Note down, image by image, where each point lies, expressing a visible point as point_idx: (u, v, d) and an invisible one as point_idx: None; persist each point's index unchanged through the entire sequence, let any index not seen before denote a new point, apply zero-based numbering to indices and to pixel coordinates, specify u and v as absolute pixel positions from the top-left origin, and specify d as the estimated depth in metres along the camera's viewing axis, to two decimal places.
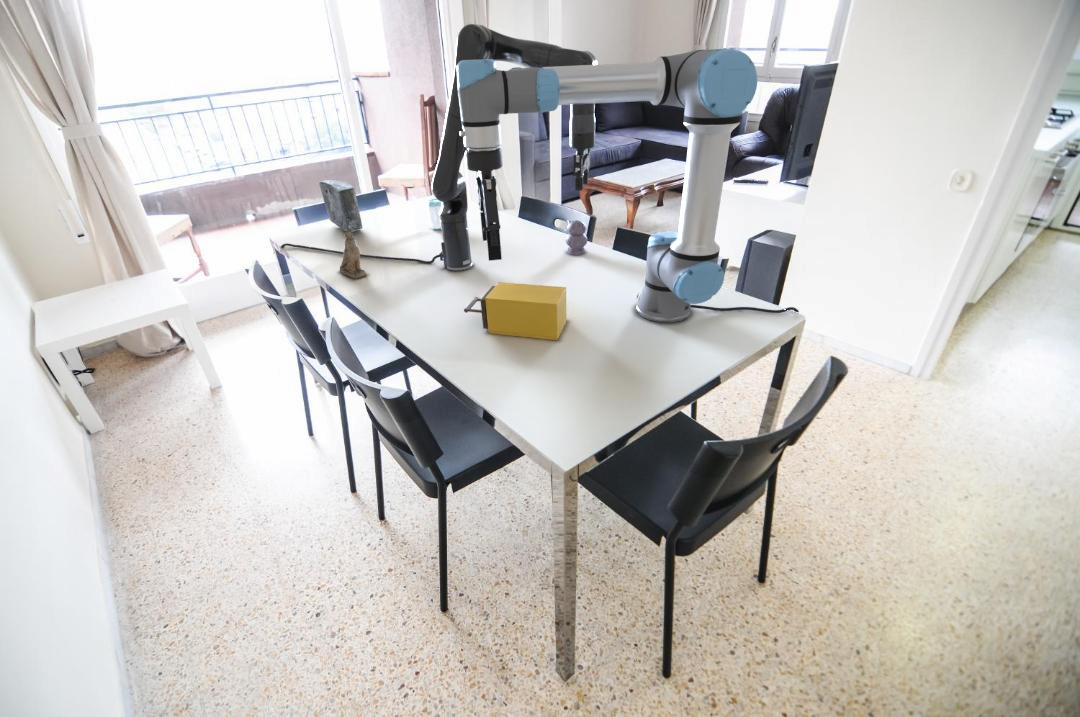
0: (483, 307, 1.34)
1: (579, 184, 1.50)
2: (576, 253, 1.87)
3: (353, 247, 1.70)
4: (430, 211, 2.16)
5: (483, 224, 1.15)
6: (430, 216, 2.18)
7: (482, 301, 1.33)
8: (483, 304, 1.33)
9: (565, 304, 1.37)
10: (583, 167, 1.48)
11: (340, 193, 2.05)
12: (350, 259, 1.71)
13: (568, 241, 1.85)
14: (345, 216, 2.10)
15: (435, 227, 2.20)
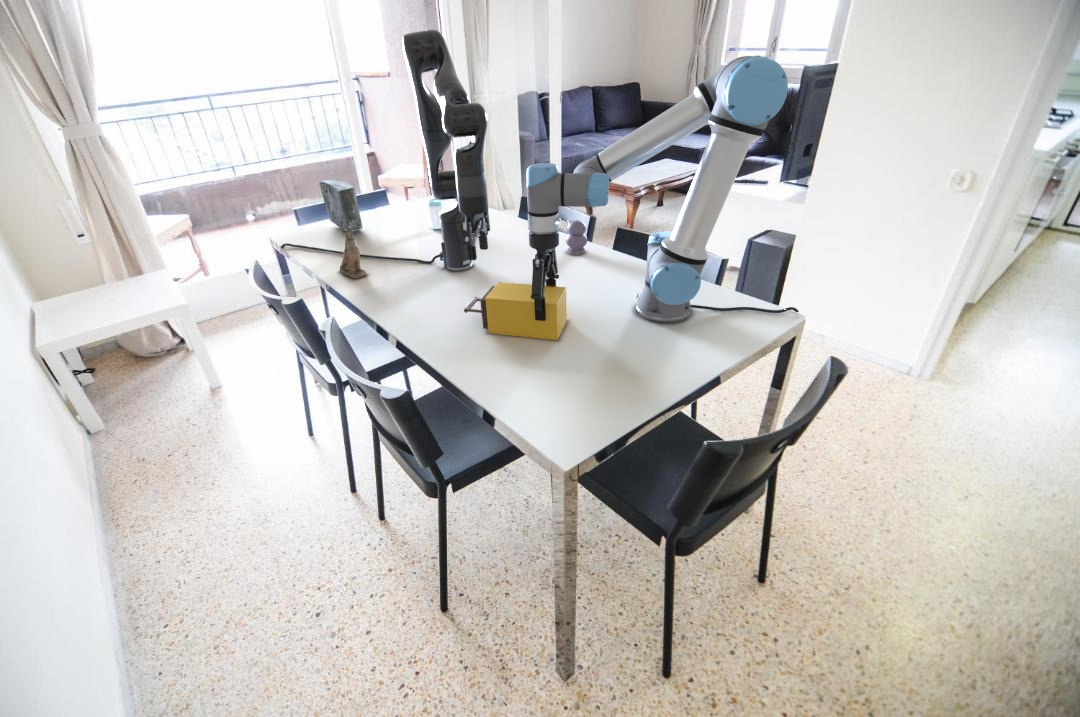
0: (483, 307, 1.34)
1: None
2: (576, 253, 1.87)
3: (353, 247, 1.70)
4: (430, 211, 2.16)
5: None
6: (430, 216, 2.18)
7: (482, 301, 1.33)
8: (483, 304, 1.33)
9: (565, 304, 1.37)
10: None
11: (340, 193, 2.05)
12: (350, 259, 1.71)
13: (568, 241, 1.85)
14: (345, 216, 2.10)
15: (435, 227, 2.20)
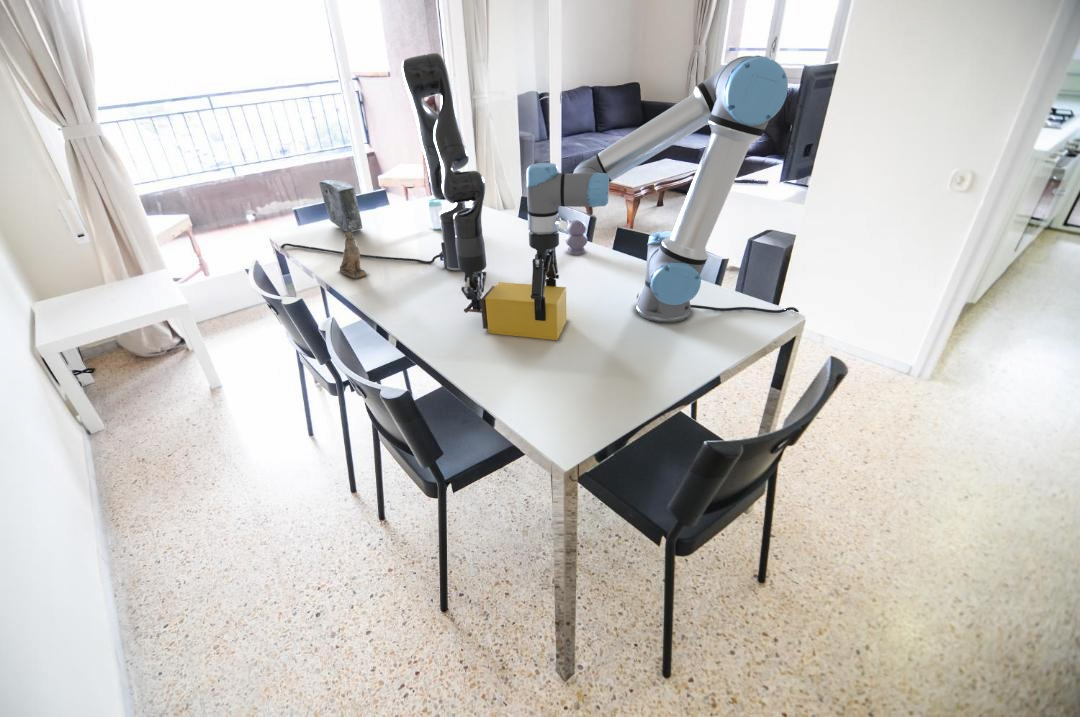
0: (483, 307, 1.34)
1: None
2: (576, 253, 1.87)
3: (353, 247, 1.70)
4: (430, 211, 2.16)
5: None
6: (430, 216, 2.18)
7: (482, 301, 1.33)
8: (483, 304, 1.33)
9: (565, 304, 1.37)
10: None
11: (340, 193, 2.05)
12: (350, 259, 1.71)
13: (568, 241, 1.85)
14: (345, 216, 2.10)
15: (435, 227, 2.20)
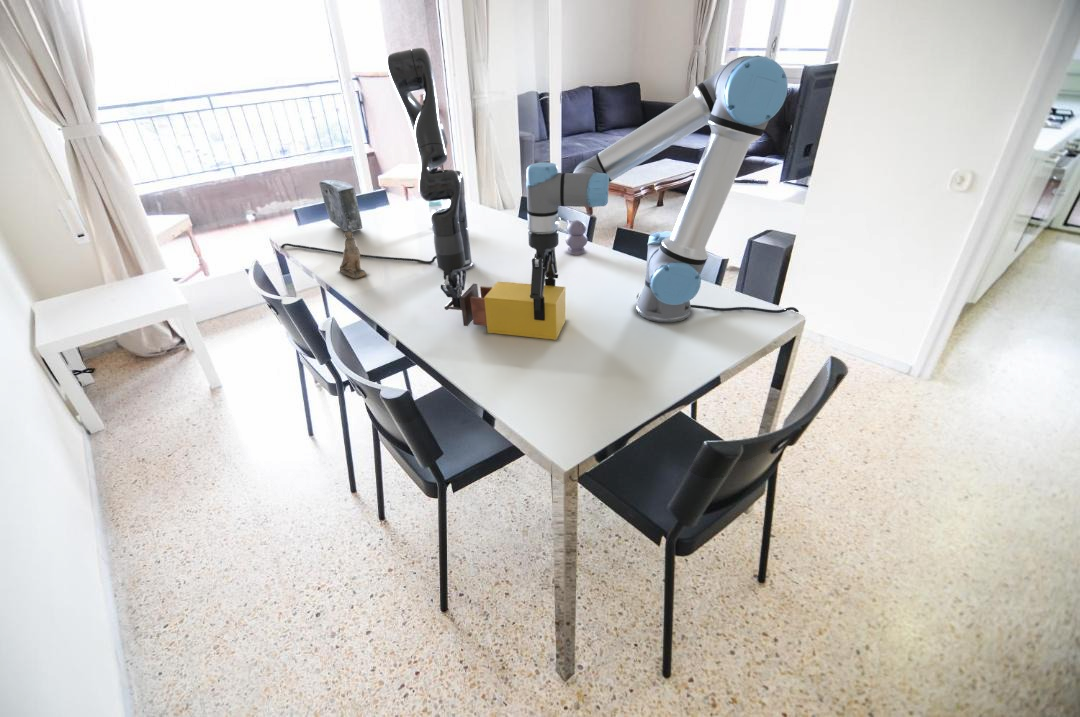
0: (463, 304, 1.35)
1: None
2: (576, 253, 1.87)
3: (353, 247, 1.70)
4: (430, 211, 2.16)
5: None
6: (430, 216, 2.18)
7: (462, 299, 1.34)
8: (463, 302, 1.34)
9: (564, 304, 1.37)
10: None
11: (340, 193, 2.05)
12: (350, 259, 1.71)
13: (568, 241, 1.85)
14: (345, 216, 2.10)
15: None
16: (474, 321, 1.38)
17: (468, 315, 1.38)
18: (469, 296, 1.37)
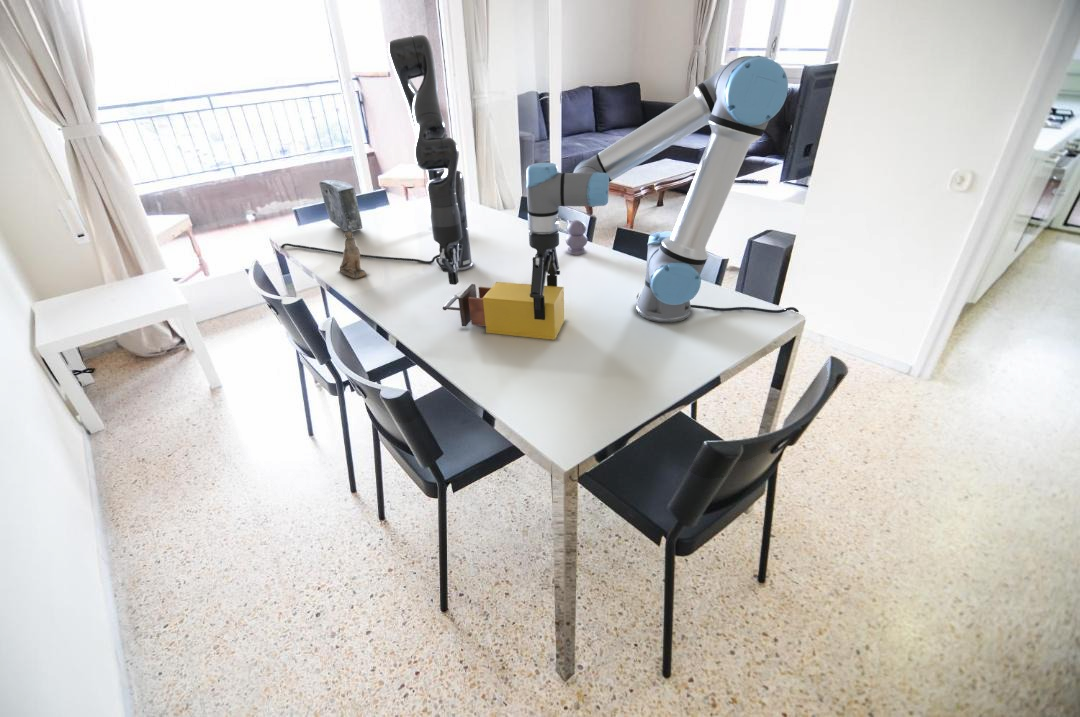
0: (461, 305, 1.35)
1: None
2: (576, 253, 1.87)
3: (353, 247, 1.70)
4: None
5: None
6: None
7: (460, 299, 1.34)
8: (461, 302, 1.35)
9: (563, 304, 1.37)
10: None
11: (340, 193, 2.05)
12: (350, 259, 1.71)
13: (568, 241, 1.85)
14: (345, 216, 2.10)
15: None
16: (472, 321, 1.38)
17: (467, 315, 1.38)
18: (467, 296, 1.37)
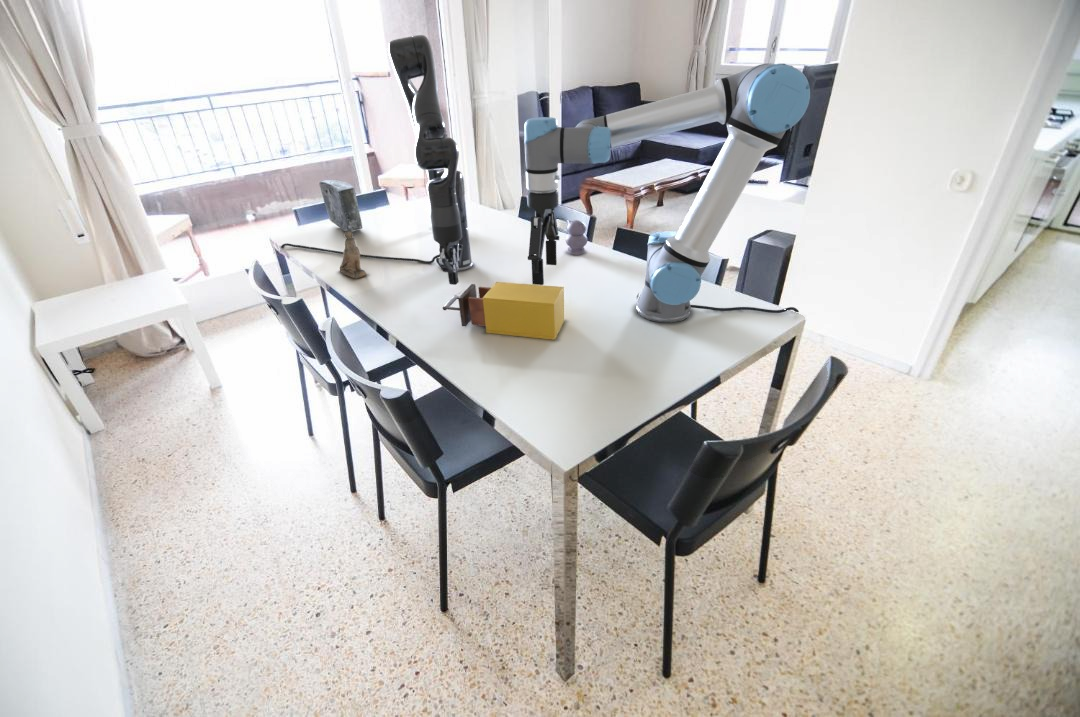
0: (461, 305, 1.35)
1: None
2: (576, 253, 1.87)
3: (353, 247, 1.70)
4: None
5: None
6: None
7: (460, 299, 1.34)
8: (461, 302, 1.35)
9: (563, 304, 1.37)
10: None
11: (340, 193, 2.05)
12: (350, 259, 1.71)
13: (568, 241, 1.85)
14: (345, 216, 2.10)
15: None
16: (472, 321, 1.38)
17: (467, 315, 1.38)
18: (467, 296, 1.37)
